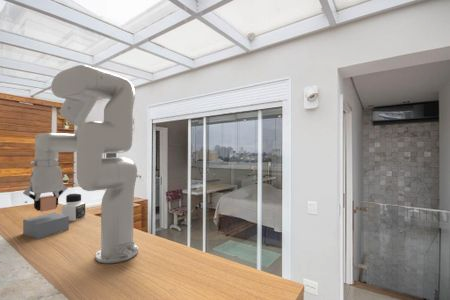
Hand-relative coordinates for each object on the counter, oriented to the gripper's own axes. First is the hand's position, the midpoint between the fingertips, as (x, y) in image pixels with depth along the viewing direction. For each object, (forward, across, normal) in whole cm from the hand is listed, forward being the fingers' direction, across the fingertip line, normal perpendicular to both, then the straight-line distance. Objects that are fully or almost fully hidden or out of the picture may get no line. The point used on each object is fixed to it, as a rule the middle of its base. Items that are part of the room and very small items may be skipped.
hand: (46, 208), depth 94 cm
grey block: (+10, 0, 0) cm, 10 cm away
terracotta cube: (+1, 0, 0) cm, 1 cm away
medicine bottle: (+10, +14, +10) cm, 20 cm away
